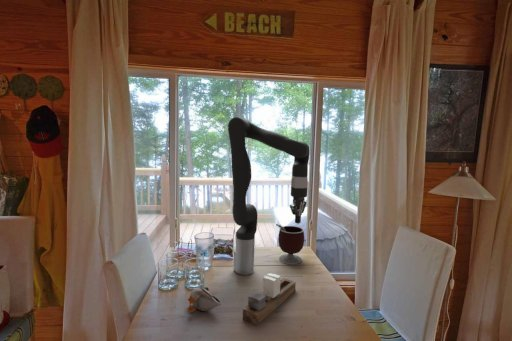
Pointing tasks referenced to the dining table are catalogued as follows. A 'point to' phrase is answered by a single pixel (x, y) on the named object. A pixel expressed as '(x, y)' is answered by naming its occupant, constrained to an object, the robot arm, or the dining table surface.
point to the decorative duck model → (202, 300)
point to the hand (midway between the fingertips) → (297, 223)
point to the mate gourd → (290, 243)
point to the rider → (271, 286)
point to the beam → (266, 302)
